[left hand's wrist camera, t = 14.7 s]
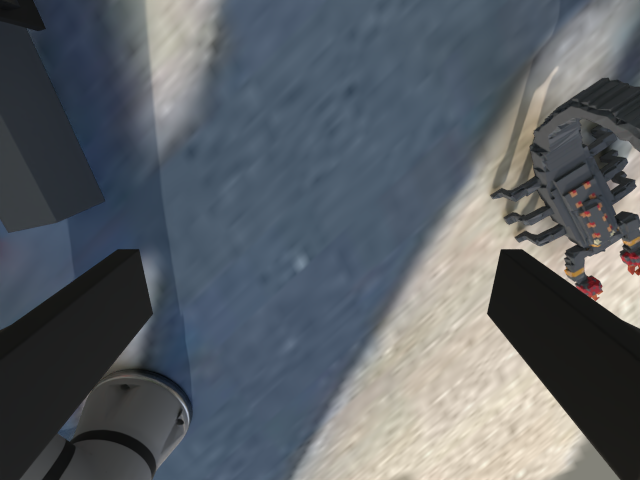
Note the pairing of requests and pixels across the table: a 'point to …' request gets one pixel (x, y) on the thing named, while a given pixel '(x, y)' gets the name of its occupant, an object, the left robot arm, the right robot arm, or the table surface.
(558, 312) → the left robot arm
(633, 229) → the toy
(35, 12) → the right robot arm
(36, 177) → the bar
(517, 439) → the table surface
